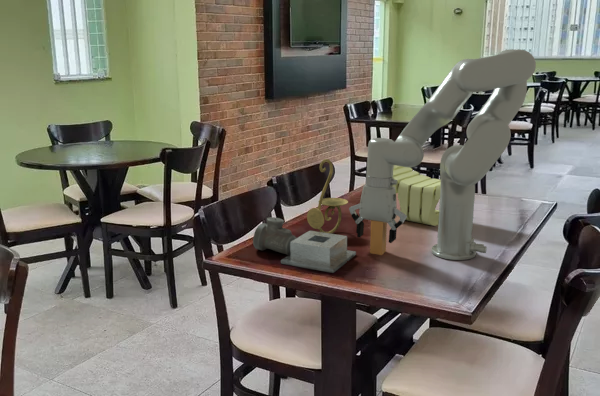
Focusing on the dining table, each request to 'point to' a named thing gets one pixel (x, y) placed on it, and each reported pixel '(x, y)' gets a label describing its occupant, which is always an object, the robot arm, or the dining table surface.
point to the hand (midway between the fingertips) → (375, 238)
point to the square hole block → (319, 251)
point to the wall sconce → (315, 214)
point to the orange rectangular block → (378, 237)
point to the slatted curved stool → (417, 195)
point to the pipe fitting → (273, 236)
